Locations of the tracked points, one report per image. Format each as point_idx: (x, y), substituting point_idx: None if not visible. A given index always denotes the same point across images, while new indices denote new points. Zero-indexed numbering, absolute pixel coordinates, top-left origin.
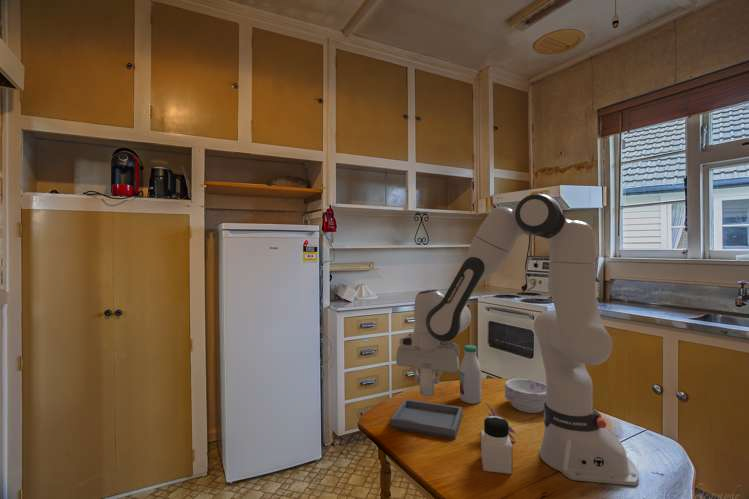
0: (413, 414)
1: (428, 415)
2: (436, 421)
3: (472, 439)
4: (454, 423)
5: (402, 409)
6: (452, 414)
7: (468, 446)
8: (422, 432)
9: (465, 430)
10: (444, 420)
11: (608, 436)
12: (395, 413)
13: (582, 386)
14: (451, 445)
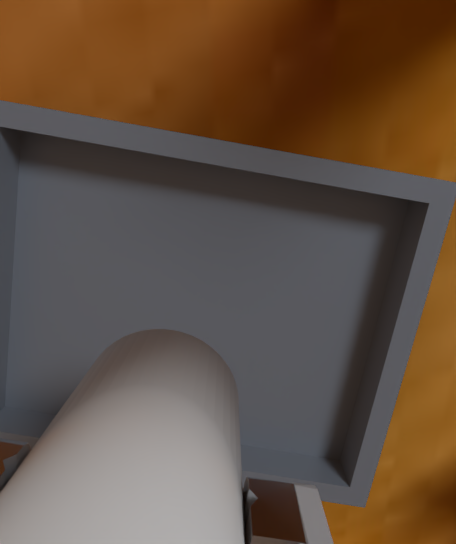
0: (93, 261)
1: (195, 258)
2: (251, 332)
3: (440, 449)
4: (368, 439)
5: (2, 252)
6: (362, 215)
7: (408, 511)
8: None
9: (417, 365)
10: (302, 312)
11: None
12: None
13: None
14: (326, 515)
